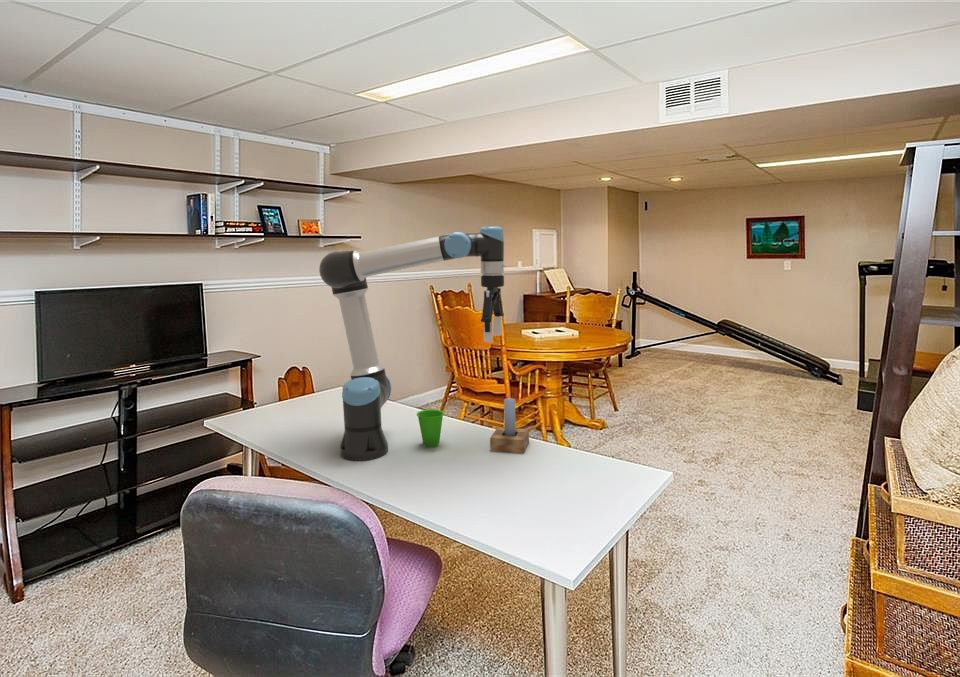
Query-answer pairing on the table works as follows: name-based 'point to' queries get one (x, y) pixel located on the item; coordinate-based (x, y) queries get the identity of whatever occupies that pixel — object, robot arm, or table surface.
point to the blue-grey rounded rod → (509, 417)
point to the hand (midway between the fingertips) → (493, 338)
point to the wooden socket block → (509, 441)
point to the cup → (430, 426)
